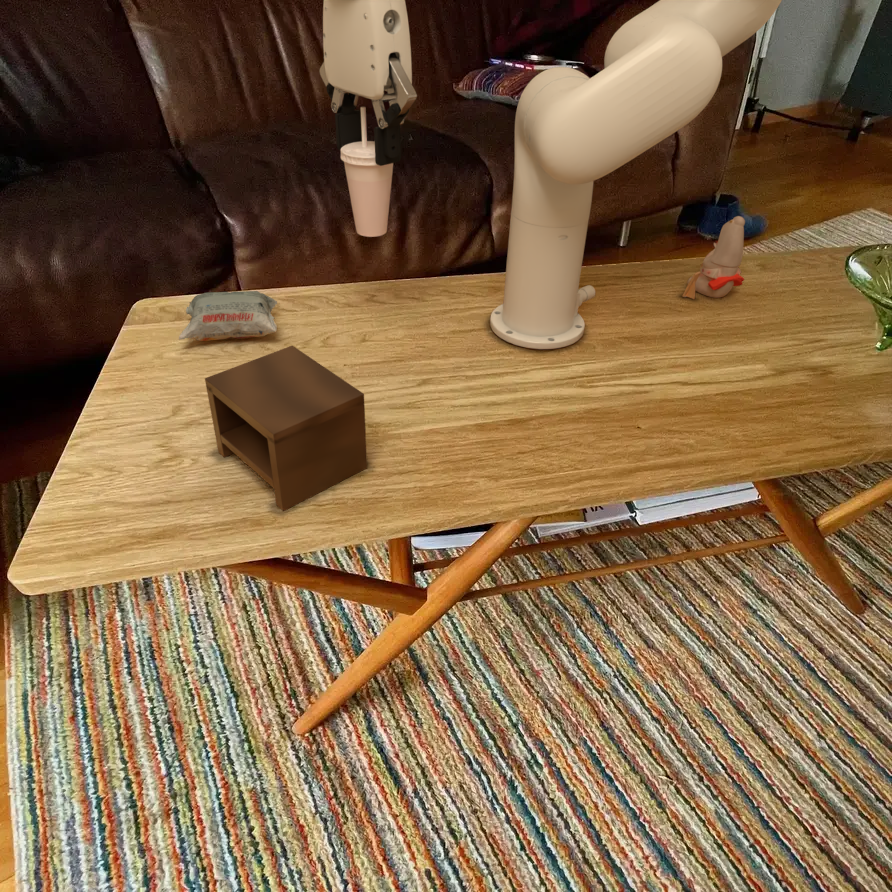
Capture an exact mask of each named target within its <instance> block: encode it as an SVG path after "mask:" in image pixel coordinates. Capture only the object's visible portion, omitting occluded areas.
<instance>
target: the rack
mask: <svg viewBox="0 0 892 892" xmlns="http://www.w3.org/2000/svg"><path fill="white" fill-rule="evenodd" d="M204 382H205V387H206V393H207V398H208V403H209V409H210V415H211V419H212V425H213V430H214V436H215V441H216V446H217V452H218V453H219V454H220V455H221V456H222V457H223V458H227V457H229V456H231V455H234V454H235V455H236V456H237V457H238V458H239V459H240V460H241V461H243V462H244V463H245V464H246V465H247V466H248V467H249V468H250V469H251V470H253V472H255V473H256V474H257V475H258V476H259V477H260V478H261V479H263V480H264V481H265V482H266V483H267V484H268V485H270V486H271V488H273V491H274V498H275V504H276V506H277V507H278V508H279V509H280V510H281V511H282V512H285V511H287V510H289V509H290V508H292V507H294V506H296V505H299V504H300V503H302V502H304V501H306V500H308V499H310V498H312V497H314V496H316V495H317V494H319V493H322V492H323V491H325V490H328V489H329V488H331V487H333V486H336V485H337V484H338V483H342V482H343V481H344V480H347V479H349V478H350V477H352V476H355V475H356V474H359V473H360V472H362V471H364V470H367V468H368V461H367V458H368V457H367V435H366V409H365V394H364V393H363V392H362V391H361V390H359V389H358V388H356V387H355V386H353V385H352V384H350V383H349V382H347V381H346V380H344V379H343V378H341V376H339V375H337V374H335V373H334V372H333V371H331V370H330V369H328V368H327V367H325V366H324V365H322V364H321V363H320V362H318V361H316V360H314V359H313V358H312V357H310V356H309V355H307V354H305V353H304V352H303V351H301V350H300V349H299V348H297V347H295V346H294V345H290V346H287V347H285V348H282V349H279V350H277V351H274V352H272V353H269V354H266V355H262V356H260V357H258V358H256V359H252V360H250V361H247V362H244V363H242V364H239V365H236V366H233V367H231V368H229V369H226V370H223V371H220V372H218V373H215V374H212V375H210V376H208V377H205V378H204Z"/></svg>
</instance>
